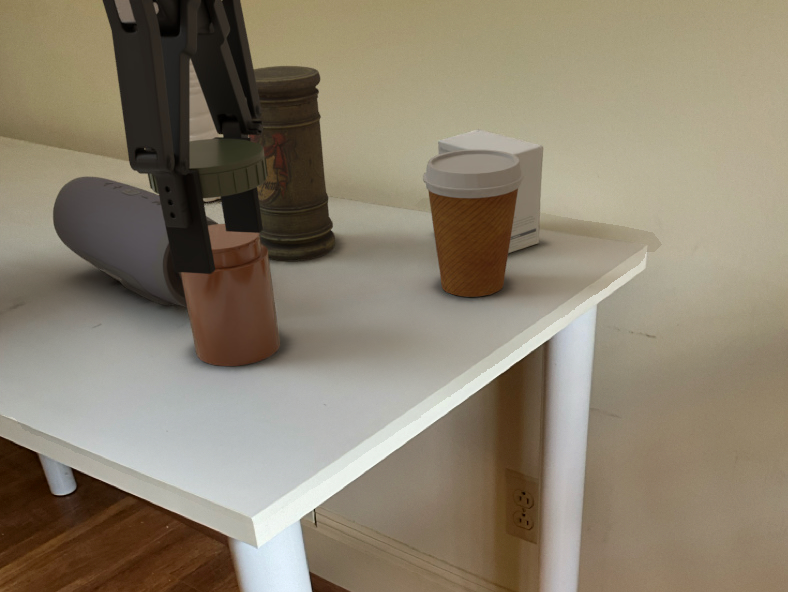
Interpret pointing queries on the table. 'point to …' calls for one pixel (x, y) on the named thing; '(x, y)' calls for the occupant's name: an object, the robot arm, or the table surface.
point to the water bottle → (200, 115)
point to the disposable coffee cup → (473, 217)
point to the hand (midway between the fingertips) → (221, 249)
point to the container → (292, 165)
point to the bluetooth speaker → (120, 235)
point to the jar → (233, 301)
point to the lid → (225, 166)
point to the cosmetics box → (530, 188)
